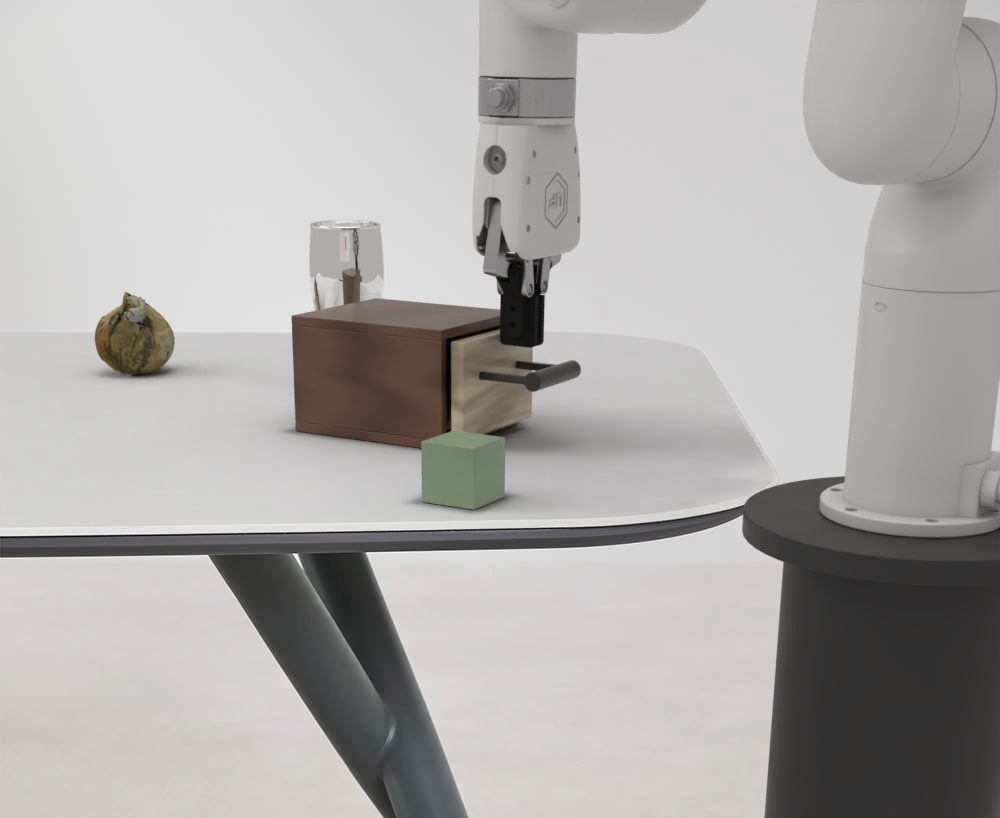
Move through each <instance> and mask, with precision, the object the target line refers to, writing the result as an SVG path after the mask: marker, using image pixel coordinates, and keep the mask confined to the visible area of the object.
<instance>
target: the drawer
mask: <svg viewBox="0 0 1000 818" xmlns="http://www.w3.org/2000/svg"><path fill="white" fill-rule="evenodd" d="M445 340H446V430H449V429H451V431H461V432H468V433H476V434H484V433H487V432H490V431H493V430H496V429H499V428H501V427H504V426H507V425H510V424H513V423H516V422H518V423H519V422H521V421H524V420H528V419H529V418H530V419H531V418H532V417H533V416H532V415H533V393H535V392H538V391H541V390H544V389H547V388H550V387H554V386H556V385H559V384H563V383H566V382H569V381H572V380H574V379H577V378H579V376H580V375H581V372H582V367H581V364H580V363H579V362H578V361H577V360H574V359H571V360H568V361H564V362H561V363H558V364H554V363H547V362H546V363H545V362H535V361H533V359H534V358H533V356H534V355H533V353H534V351H533V350H534V347H532V348H528V347H519V346H511V345H503V344H502V343H501V342H500V326H496V327H492V328H488V329H484V330H480V331H477V332H473V333H469V334H465V335H461V336H457V337H453V338H449V339H445Z"/></svg>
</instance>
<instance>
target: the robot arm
mask: <svg viewBox="0 0 1000 818" xmlns="http://www.w3.org/2000/svg"><path fill="white" fill-rule="evenodd" d="M707 1H708V0H479V5H478V6H479V7H478V13H479V14H478V78H477V79H478V81H477V82H478V83H477V84H478V87H477V89H478V90H477V94H478V95H477V114H478V115H477V123H480V124H479V130H478V131H479V132H478V137H477V146H476V152H475V153H476V154H475V161H474V162H475V165H474V174H473V189H472V192H473V193H472V213H471V214H472V217H471V218H472V219H471V220H472V221H471V222H472V223H471V224H472V241H473V247H474V250H475V251H476V252H477V253H478V254H479V255H480V256H482V257H483V264H482V272H483V274H484V275H487V276H490V277H494V278H495V279H496V290H497V291H496V292H497V294H498V295H500V302H499V303H500V304H499V309H500V342H501V343H502V344H503V345H511V346H519V347H528V348H532V347H533V348H534V347H536V346H537V347H538V346H541V345H543V344H544V340H545V338H544V337H545V305H546V303H545V301H546V293H547V292H548V289H549V282H550V272H551V269H553V267H555V266H556V265H558V264H559V263H560V262H561V260H562V255H563V254H567V253H571V252H572V251H574V250H575V249H576V247H577V246H578V245H579V244H580V241H581V172H580V170H581V169H580V168H581V167H580V153H579V143H578V135H577V134H578V133H577V128H576V105H577V104H576V102H577V100H576V99H577V75H578V74H577V71H578V41H579V39H578V38H579V34H590V35H612V34H635V35H636V34H637V35H639V34H640V35H651V34H652V35H653V34H656V35H657V34H665V33H668V32H672V31H675V30H676V29H678V28H679V27H682V26H683V25H685V23H687V22H689V20H691V18H693V17H694V16H695V15H696V14H698V12H699V11H700V10H701V9H702V8H703V7H704V5H705V4H706V2H707ZM967 1H968V0H816V5H815V11H814V17H813V21H812V28H811V34H810V40H809V46H808V50H807V56H806V63H805V68H804V77H803V88H802V115H803V123H804V129H805V132H806V137H807V139H808V142H809V145H810V146H811V149H812V151H813V152H814V154H815V156H816V157H817V159H818V160H819V161H820V163H821V164H822V165H823V166H824V167H825V168H826V169H827V170H828V171H830V172H831V173H832V174H834V175H835V176H836V177H838V178H840V179H842V180H845V181H847V182H850V183H853V184H858V185H863V186H882V187H881V189H880V192H879V195H878V198H877V200H876V203H875V206H874V210H873V212H872V217H871V220H870V223H869V227H868V231H867V237H866V242H865V248H864V255H863V256H864V257H863V265H862V276H861V277H862V278H861V287H860V298H859V307H858V308H859V310H858V318H857V319H858V320H857V322H858V323H857V331H856V342H855V343H856V344H855V353H854V354H855V355H854V366H853V377H852V390H851V401H850V413H849V424H848V436H847V447H846V449H847V450H846V459H845V471H844V476H845V481H844V483H842V484H837V485H834V486H832V487H829V488H827V489H826V490H825V491H823V492H822V493H821V495H820V506H819V510H820V512H821V513H822V514H823V516H825V517H826V518H828V519H829V520H831V521H833V522H835V523H837V524H840V525H843V526H846V527H849V528H853V529H857V530H861V531H865V532H871V533H877V534H882V535H891V536H899V537H912V538H958V537H969V536H975V535H981V534H985V533H989V532H992V531H995V530H997V529H999V528H1000V451H996V450H992V447H993V439H994V438H993V437H994V429H995V423H996V422H995V421H996V413H997V406H998V405H997V403H998V395H999V389H1000V388H999V387H1000V22H998V21H994V20H992V19H988V18H987V19H986V18H981V17H977V16H976V17H975V16H964V14H965V9H966V6H967Z"/></svg>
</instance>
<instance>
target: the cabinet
mask: <svg viewBox="0 0 1000 818" xmlns="http://www.w3.org/2000/svg"><path fill="white" fill-rule="evenodd" d="M496 326H500V308H498V309H497V308H487V307H476V306H465V305H455V304H443V303H431V302H423V301H422V302H421V301H410V300H401V299H399V300H398V299H389V298H383V299H379V298H375V299H370V300H365V301H360V302H355V303H350V304H346V305H341V306H336V307H331V308H326V309H321V310H316V311H315V310H312V311H308V312H303V313H298V314H292V315H291V342H292V343H291V344H292V367H293V368H292V369H293V394H294V421H295V425H294V426H295V431H296V432H302V433H309V434H315V435H322V436H331V437H336V438H337V437H338V438H345V439H353V440H359V441H366V442H374V443H381V444H387V445H396V446H401V447H402V446H403V447H409V448H418V449H421V442H422V441H424V440H427V439H430V438H433V437H436V436H439V435H442V434H445V433H448V432H451V429H449V430H446V340H445V339H449V338H453V337H457V336H461V335H465V334H469V333H473V332H477V331H480V330H484V329H488V328H492V327H496ZM518 424H519V421H518V422H516V423H513V424H510V425H507V426H504V427H501V428H499V429H496V430H493V431H490V432H487V433H484V435H490V434H494V433H496V432H498V431H502V430H505V429H508V428H510V427H514V426H517V425H518Z"/></svg>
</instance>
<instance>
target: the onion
mask: <svg viewBox="0 0 1000 818" xmlns="http://www.w3.org/2000/svg"><path fill="white" fill-rule="evenodd" d="M175 342H176V341H175V334H174V330H173V329H172V327H171V325H170V323H168V321H167V320H166V319H165V317H164V316H163V315H162V314H161V313H160V312H158V311H157V310H156V309H155V308H154V307H153V306H151V305H150V304H149V303H148V302H146V300H145V299H143V297H142V296H137V295H136V294H131V293H130V292H127V291H124V292H123V296H122V303H121V304H120V305H119V306H116V307H115V308H113V309H112V310H111V311H110V312H108V313H107V314H105V315H103V316H101V318H100V319H99V321H98V322H97V324H96V328H95V331H94V344H95V349H96V352H97V354H98V356H99V358H100V360H101V361H102V362H104V363H105V364H106V365H107V366H108V367H110V369H112V370H114V371H117V372H118V373H121V374H124V375H125V374H127V375H128V374H129V375H132V376H134V375H137V374H138V375H142V374H143V375H144V374H146V375H147V374H151V373H154V372H156V371H157V370H160V369H161V368H163V367H164V366H165V365H166V363H168V362H169V360H170V358H172V355H173V353H174V349H175V344H176V343H175Z"/></svg>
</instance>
